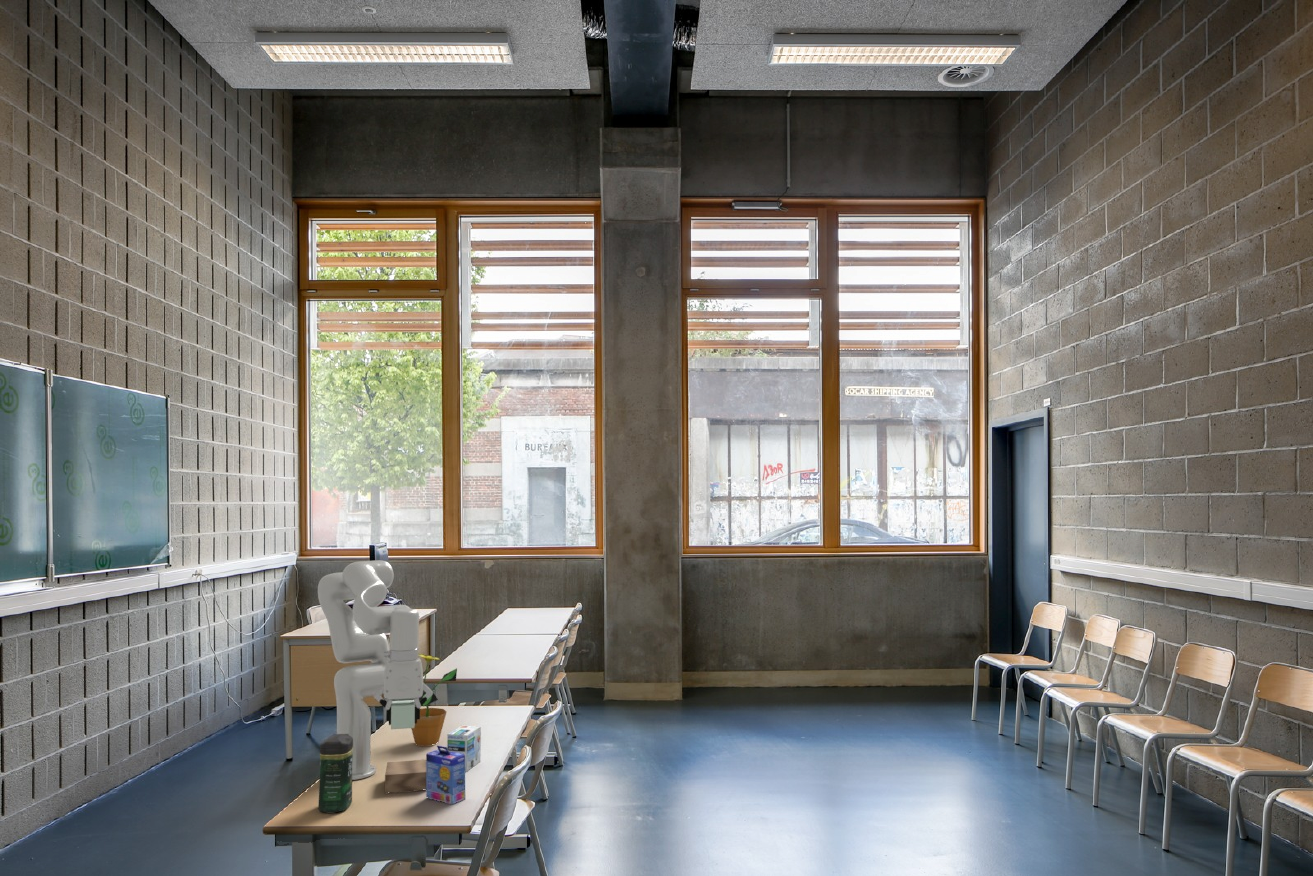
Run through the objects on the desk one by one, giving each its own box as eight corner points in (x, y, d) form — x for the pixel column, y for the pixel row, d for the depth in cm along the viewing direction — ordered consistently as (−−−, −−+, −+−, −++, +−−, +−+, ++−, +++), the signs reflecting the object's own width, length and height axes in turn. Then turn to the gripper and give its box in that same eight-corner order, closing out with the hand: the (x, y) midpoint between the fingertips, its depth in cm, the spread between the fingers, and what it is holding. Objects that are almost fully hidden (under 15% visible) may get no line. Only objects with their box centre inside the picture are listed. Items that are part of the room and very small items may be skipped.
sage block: (390, 729, 239) (391, 706, 239) (392, 723, 245) (392, 701, 245) (414, 728, 240) (414, 705, 241) (414, 722, 246) (415, 700, 247)
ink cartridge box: (424, 799, 245) (425, 744, 246) (439, 793, 250) (439, 739, 251) (451, 805, 240) (452, 750, 241) (466, 799, 245) (466, 744, 246)
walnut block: (384, 793, 249) (385, 775, 250) (387, 780, 261) (387, 762, 261) (429, 790, 252) (429, 771, 252) (429, 776, 264) (430, 759, 264)
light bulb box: (467, 772, 268) (467, 735, 269) (446, 771, 269) (446, 734, 270) (481, 761, 278) (481, 726, 279) (460, 760, 280) (461, 724, 280)
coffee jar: (346, 813, 234) (347, 741, 235) (315, 814, 234) (316, 741, 235) (355, 800, 244) (356, 731, 245) (325, 801, 243) (326, 731, 244)
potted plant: (448, 751, 289) (449, 656, 291) (390, 750, 290) (392, 656, 291) (462, 735, 307) (462, 646, 309) (407, 735, 308) (408, 646, 309)
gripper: (369, 659, 238) (368, 728, 237) (436, 656, 242) (436, 724, 241) (371, 654, 245) (370, 721, 244) (437, 651, 249) (436, 717, 248)
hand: (403, 722), depth 243 cm, fingers closed on sage block, 6 cm apart
